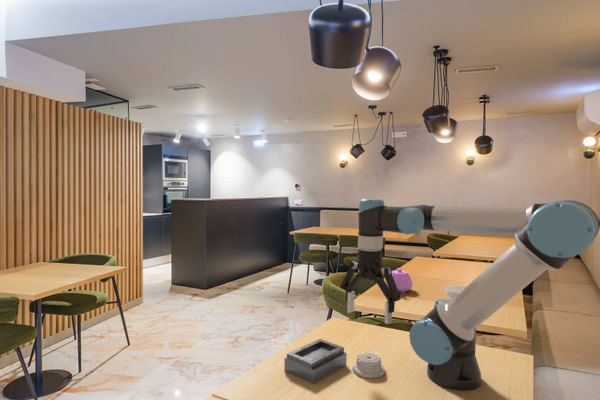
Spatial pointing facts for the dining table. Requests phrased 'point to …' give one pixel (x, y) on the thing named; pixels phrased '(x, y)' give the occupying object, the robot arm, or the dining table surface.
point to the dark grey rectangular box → (315, 360)
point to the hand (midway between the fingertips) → (368, 317)
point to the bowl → (454, 290)
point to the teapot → (402, 280)
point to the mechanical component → (368, 366)
